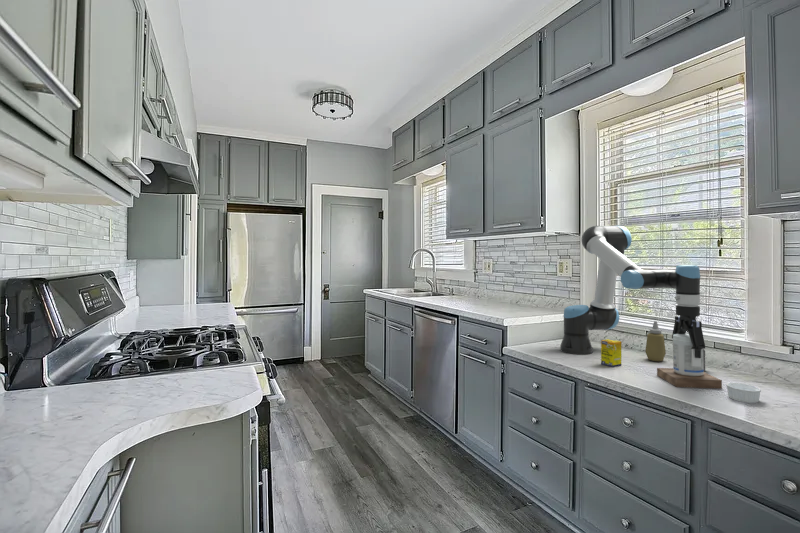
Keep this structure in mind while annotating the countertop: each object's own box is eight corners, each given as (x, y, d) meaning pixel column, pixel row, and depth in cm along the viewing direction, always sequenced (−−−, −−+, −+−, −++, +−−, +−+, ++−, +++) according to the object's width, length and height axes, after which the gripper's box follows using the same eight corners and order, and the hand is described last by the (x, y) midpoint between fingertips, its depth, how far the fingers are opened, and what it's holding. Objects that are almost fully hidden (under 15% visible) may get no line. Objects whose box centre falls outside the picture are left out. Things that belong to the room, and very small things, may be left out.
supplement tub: (708, 374, 152) (707, 336, 152) (697, 378, 147) (697, 339, 147) (679, 368, 160) (679, 332, 160) (668, 372, 155) (668, 335, 155)
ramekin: (750, 395, 138) (750, 383, 137) (767, 404, 129) (767, 391, 129) (720, 393, 140) (720, 381, 139) (735, 402, 131) (735, 389, 131)
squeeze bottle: (662, 363, 180) (662, 323, 179) (642, 360, 186) (642, 321, 185) (668, 360, 185) (668, 321, 185) (648, 357, 191) (648, 319, 191)
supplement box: (600, 364, 179) (600, 340, 179) (609, 362, 182) (609, 338, 182) (613, 367, 174) (613, 342, 174) (621, 365, 177) (621, 341, 177)
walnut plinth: (657, 375, 162) (657, 367, 162) (697, 376, 159) (697, 369, 159) (676, 387, 147) (676, 378, 147) (721, 388, 145) (721, 380, 145)
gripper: (662, 301, 165) (662, 354, 165) (694, 309, 142) (694, 370, 142) (682, 302, 164) (681, 355, 164) (717, 309, 141) (717, 371, 141)
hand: (687, 362), depth 153 cm, fingers open, 11 cm apart
